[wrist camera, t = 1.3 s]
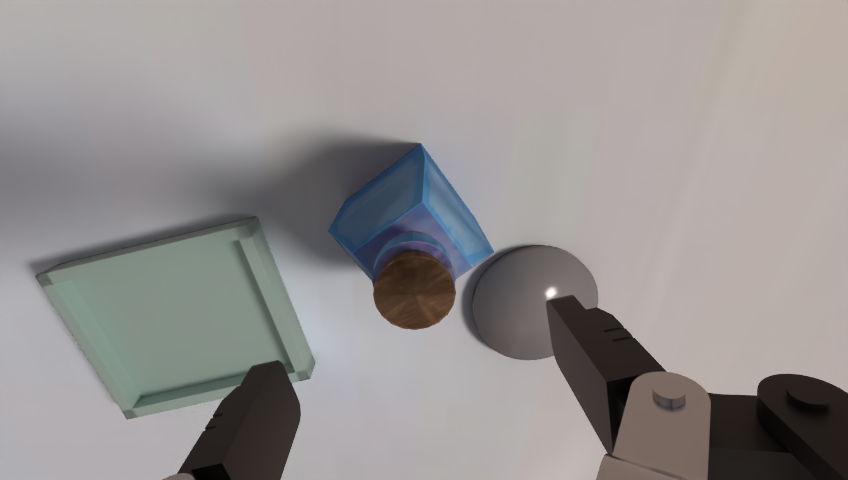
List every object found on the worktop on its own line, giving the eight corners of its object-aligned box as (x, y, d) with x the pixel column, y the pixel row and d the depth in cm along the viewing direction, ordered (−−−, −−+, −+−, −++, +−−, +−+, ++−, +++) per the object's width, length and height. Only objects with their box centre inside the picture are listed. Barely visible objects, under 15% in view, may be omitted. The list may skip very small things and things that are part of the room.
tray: (58, 264, 27) (34, 275, 25) (256, 216, 26) (246, 225, 24) (142, 401, 31) (127, 419, 29) (315, 362, 30) (310, 378, 28)
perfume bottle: (420, 143, 25) (432, 181, 14) (475, 218, 27) (525, 306, 16) (345, 200, 26) (298, 280, 15) (402, 269, 28) (399, 386, 17)
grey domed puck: (461, 261, 28) (462, 266, 27) (587, 232, 27) (592, 236, 27) (483, 364, 31) (485, 371, 30) (597, 339, 30) (602, 345, 30)
